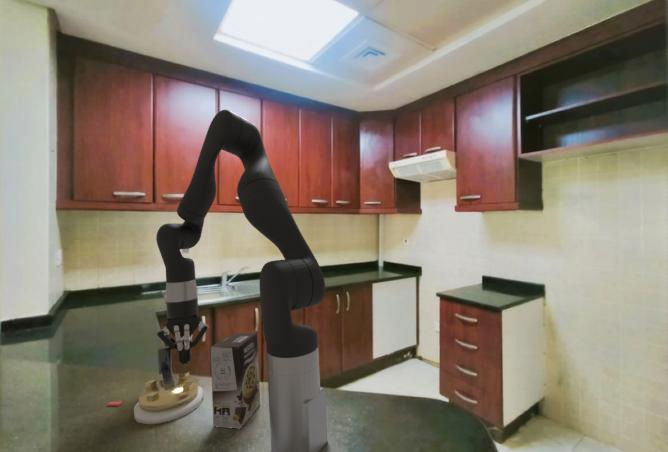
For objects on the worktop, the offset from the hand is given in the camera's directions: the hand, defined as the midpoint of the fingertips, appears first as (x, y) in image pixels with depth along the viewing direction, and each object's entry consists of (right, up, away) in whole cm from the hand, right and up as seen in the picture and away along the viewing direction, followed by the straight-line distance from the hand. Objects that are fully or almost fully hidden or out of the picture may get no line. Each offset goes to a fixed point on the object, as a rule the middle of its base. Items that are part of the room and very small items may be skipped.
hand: (185, 363), depth 82 cm
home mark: (-12, -6, -9) cm, 16 cm away
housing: (+2, -5, -11) cm, 12 cm away
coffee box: (+19, -4, -17) cm, 26 cm away
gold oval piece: (0, -3, -8) cm, 9 cm away
